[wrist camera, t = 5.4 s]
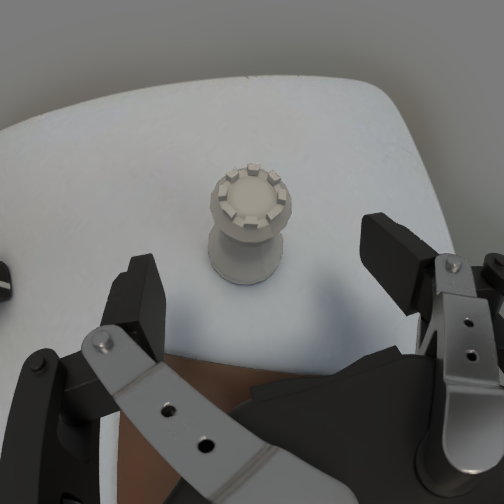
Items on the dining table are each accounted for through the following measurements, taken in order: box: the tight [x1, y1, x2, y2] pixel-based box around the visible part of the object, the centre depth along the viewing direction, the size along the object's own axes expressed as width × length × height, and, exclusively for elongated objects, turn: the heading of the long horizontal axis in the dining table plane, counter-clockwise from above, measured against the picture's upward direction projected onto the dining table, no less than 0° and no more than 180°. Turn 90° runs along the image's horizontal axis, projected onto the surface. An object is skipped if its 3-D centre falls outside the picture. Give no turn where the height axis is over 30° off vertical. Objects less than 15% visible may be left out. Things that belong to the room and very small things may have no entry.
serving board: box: [117, 353, 323, 504], centre depth 15 cm, size 16×14×1 cm
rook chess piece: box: [208, 163, 292, 285], centre depth 15 cm, size 4×4×8 cm
